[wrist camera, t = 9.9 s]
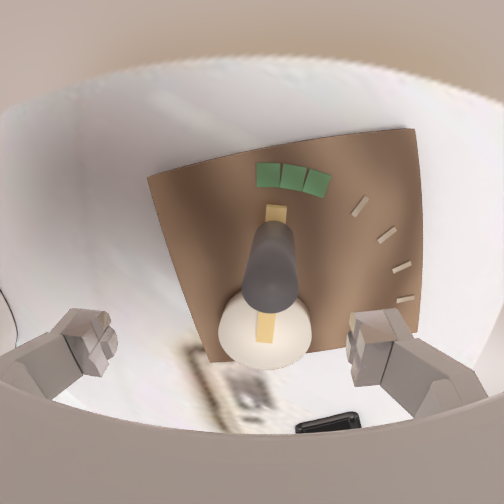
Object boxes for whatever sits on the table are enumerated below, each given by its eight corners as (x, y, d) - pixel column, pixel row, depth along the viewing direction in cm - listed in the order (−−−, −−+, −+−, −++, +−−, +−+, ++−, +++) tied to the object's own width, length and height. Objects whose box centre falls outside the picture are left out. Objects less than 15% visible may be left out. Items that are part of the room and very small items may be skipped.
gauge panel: (213, 352, 28) (209, 364, 26) (155, 174, 21) (145, 178, 20) (411, 322, 24) (417, 333, 23) (406, 128, 18) (415, 128, 17)
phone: (357, 414, 29) (369, 462, 34) (356, 407, 30) (368, 456, 35) (292, 429, 31) (319, 473, 36) (292, 422, 32) (319, 467, 37)
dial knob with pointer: (303, 358, 25) (306, 438, 17) (222, 351, 25) (201, 428, 17) (329, 203, 19) (359, 253, 12) (224, 194, 20) (187, 238, 12)
